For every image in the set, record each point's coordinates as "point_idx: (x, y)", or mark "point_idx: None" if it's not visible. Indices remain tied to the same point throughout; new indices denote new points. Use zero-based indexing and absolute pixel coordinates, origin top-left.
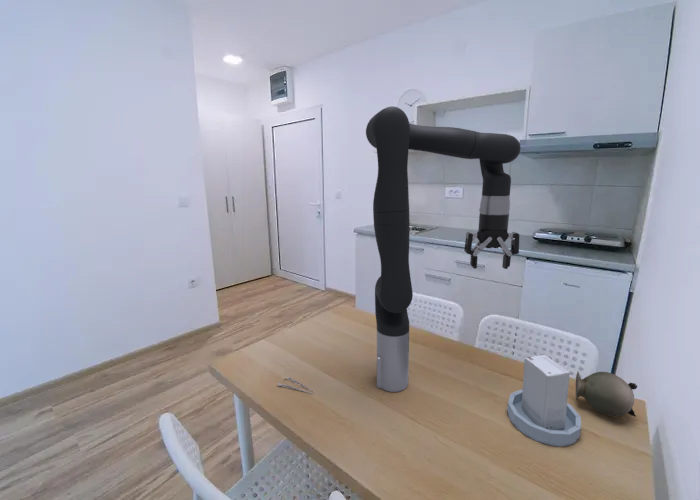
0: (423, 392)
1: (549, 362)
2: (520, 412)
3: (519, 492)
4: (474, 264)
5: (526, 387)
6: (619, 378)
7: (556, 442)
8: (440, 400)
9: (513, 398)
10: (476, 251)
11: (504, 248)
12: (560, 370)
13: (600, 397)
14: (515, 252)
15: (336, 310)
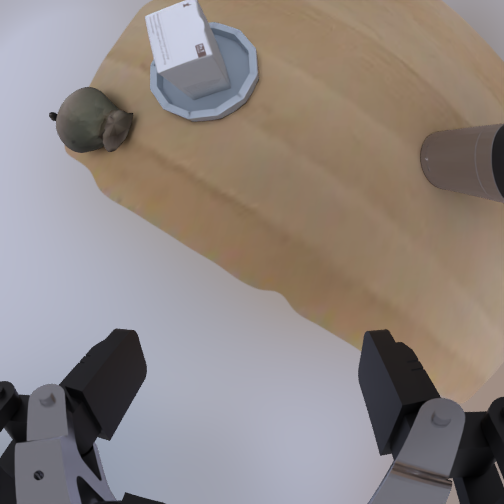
0: (396, 129)
1: (165, 40)
2: (236, 79)
3: None
4: (397, 347)
5: (221, 62)
6: (60, 115)
7: None
8: (369, 107)
9: (243, 85)
10: (439, 447)
11: (48, 453)
12: (159, 16)
13: (103, 94)
14: (5, 394)
15: (477, 387)
